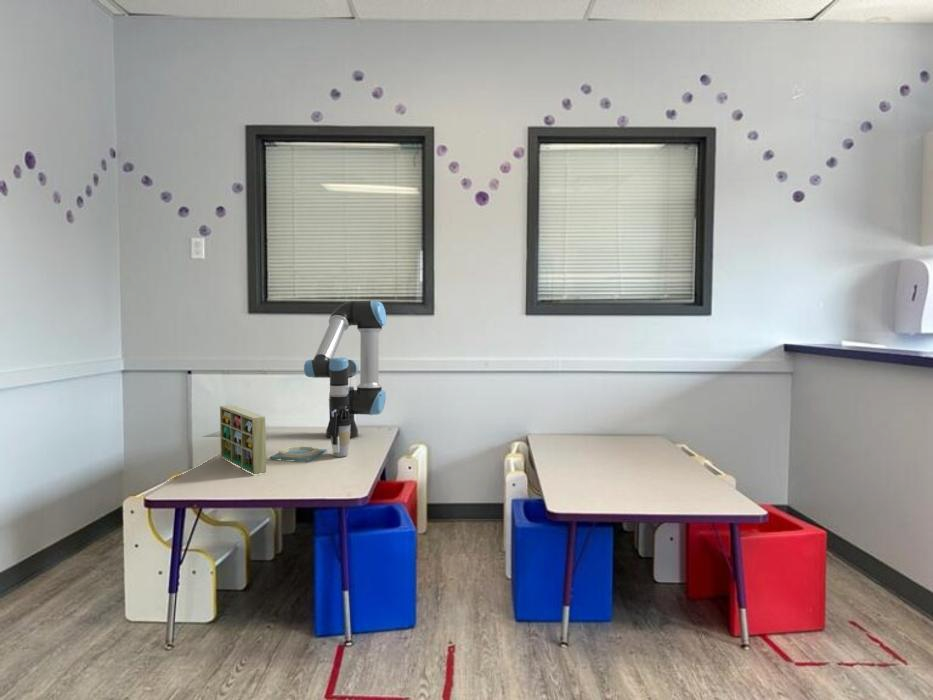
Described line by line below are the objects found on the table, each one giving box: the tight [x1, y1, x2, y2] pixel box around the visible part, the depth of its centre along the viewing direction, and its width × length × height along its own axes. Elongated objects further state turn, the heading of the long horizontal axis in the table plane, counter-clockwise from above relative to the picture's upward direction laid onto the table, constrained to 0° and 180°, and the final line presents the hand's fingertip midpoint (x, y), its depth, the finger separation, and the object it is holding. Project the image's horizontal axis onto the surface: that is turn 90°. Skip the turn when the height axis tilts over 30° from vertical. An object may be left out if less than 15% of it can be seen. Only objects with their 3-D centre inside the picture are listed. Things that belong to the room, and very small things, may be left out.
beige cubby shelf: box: [219, 404, 267, 474], centre depth 230 cm, size 35×5×22 cm, turn 41°
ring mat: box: [269, 445, 328, 463], centre depth 246 cm, size 17×17×2 cm
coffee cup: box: [327, 418, 352, 458], centre depth 245 cm, size 9×9×15 cm
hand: (340, 449), depth 246 cm, fingers closed on coffee cup, 8 cm apart
